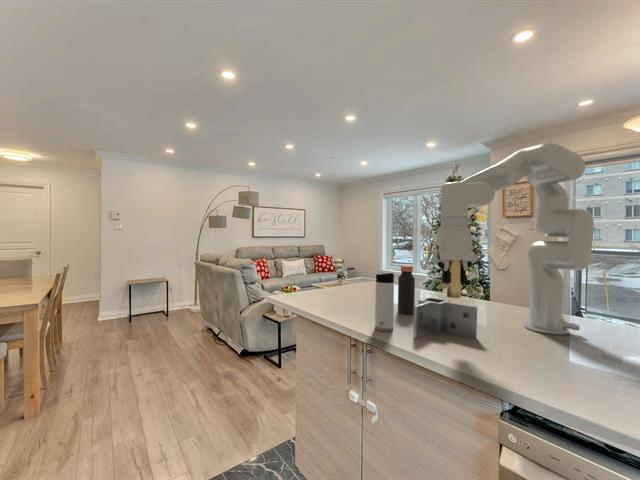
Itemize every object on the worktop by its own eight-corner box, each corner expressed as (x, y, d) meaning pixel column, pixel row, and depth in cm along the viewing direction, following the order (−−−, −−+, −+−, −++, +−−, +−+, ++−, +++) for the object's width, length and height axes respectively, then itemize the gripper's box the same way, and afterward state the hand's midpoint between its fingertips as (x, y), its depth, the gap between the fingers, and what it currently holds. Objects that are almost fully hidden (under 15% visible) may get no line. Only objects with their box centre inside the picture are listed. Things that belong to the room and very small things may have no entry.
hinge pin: (463, 296, 93) (463, 257, 93) (458, 298, 90) (458, 258, 90) (449, 294, 96) (449, 256, 96) (444, 296, 93) (444, 257, 93)
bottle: (416, 315, 126) (417, 266, 126) (399, 314, 126) (400, 266, 126) (411, 310, 133) (412, 265, 132) (396, 310, 133) (396, 265, 132)
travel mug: (383, 333, 102) (384, 273, 102) (371, 327, 108) (372, 271, 108) (397, 330, 105) (398, 273, 105) (385, 325, 111) (386, 270, 111)
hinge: (480, 335, 101) (480, 305, 100) (459, 350, 88) (460, 315, 88) (428, 324, 113) (428, 296, 113) (403, 335, 100) (404, 304, 100)
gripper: (474, 223, 96) (474, 280, 97) (422, 224, 96) (422, 281, 97) (488, 222, 89) (487, 285, 89) (431, 223, 89) (431, 285, 89)
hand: (453, 282), depth 93 cm, fingers closed on hinge pin, 4 cm apart
